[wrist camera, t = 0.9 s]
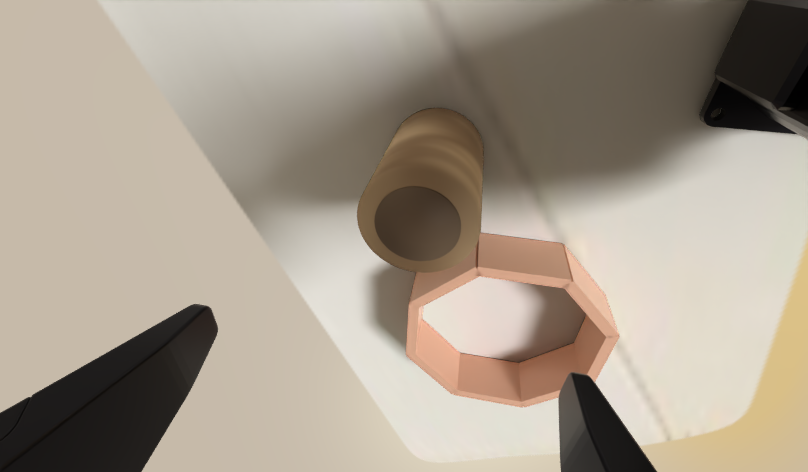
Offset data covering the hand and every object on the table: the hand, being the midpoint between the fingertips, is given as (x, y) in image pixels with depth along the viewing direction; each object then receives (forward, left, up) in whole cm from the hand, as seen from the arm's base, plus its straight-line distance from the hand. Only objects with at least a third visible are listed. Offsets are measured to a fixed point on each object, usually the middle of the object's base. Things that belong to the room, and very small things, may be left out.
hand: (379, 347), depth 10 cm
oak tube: (0, 0, -12) cm, 12 cm away
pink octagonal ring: (-5, +10, -12) cm, 17 cm away
